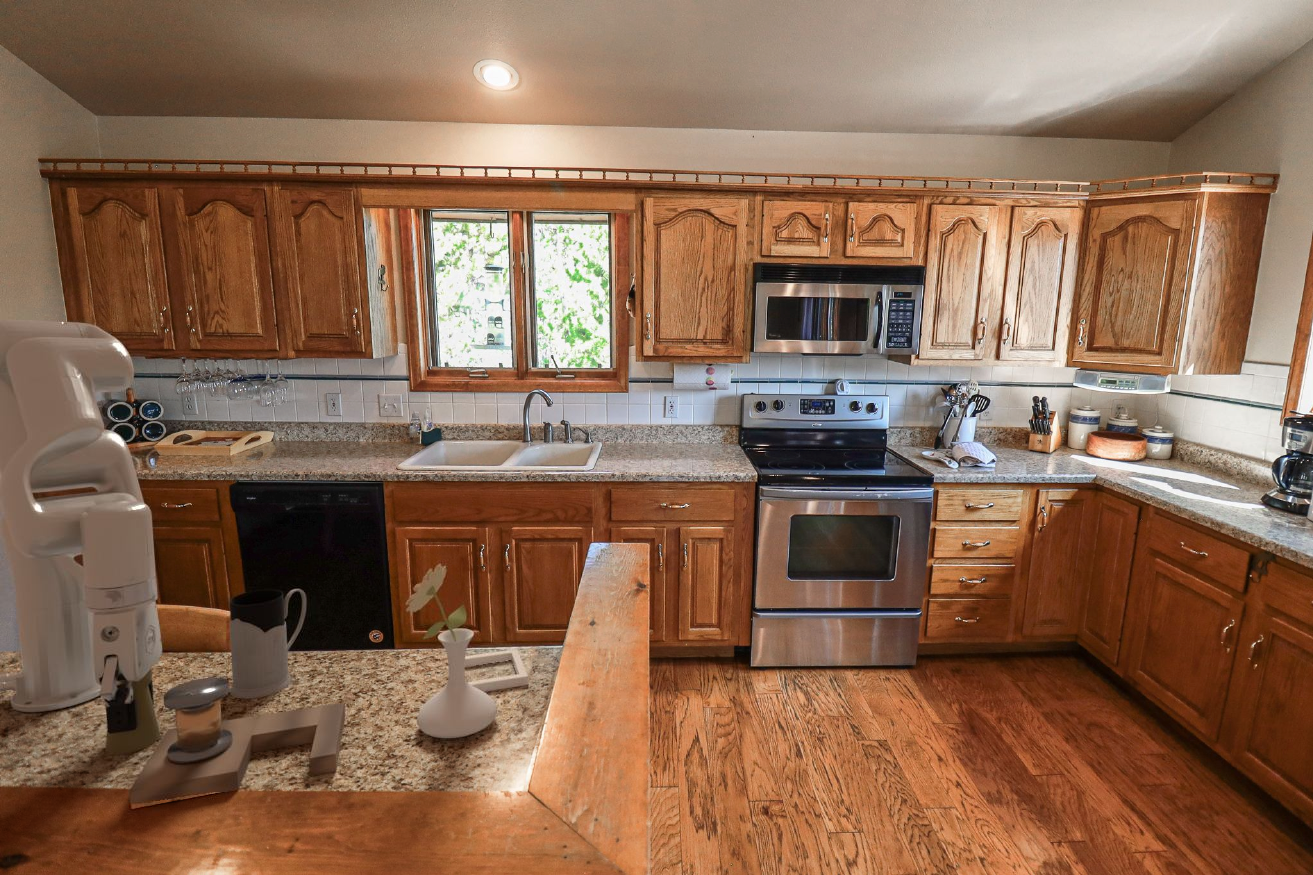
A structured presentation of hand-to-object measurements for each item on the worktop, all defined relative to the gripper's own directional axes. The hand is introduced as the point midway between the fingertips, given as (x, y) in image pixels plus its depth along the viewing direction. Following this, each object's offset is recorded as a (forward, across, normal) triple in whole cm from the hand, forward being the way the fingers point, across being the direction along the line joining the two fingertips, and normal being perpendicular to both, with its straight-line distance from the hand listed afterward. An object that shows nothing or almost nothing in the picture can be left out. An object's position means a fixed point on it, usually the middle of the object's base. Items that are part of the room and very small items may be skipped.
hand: (131, 718), depth 92 cm
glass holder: (+4, +15, -15) cm, 22 cm away
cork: (+4, 0, 0) cm, 4 cm away
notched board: (+3, -10, -16) cm, 19 cm away
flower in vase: (+4, -11, -42) cm, 44 cm away
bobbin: (+1, -10, -10) cm, 15 cm away
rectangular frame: (+3, +4, -49) cm, 49 cm away
